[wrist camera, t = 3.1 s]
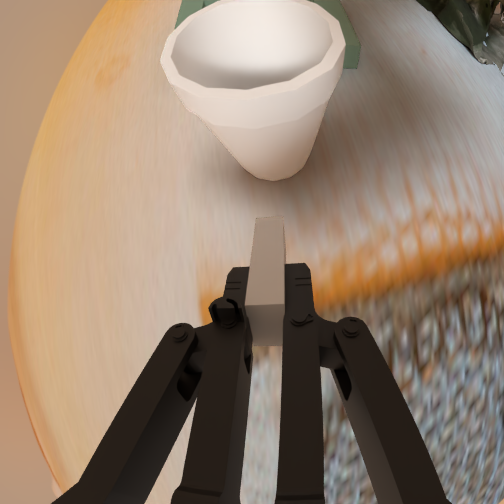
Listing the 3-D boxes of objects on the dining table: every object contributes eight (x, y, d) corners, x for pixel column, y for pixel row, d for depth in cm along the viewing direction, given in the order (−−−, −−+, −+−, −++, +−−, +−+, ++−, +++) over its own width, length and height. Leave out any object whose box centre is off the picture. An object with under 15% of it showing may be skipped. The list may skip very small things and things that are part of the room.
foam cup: (263, 221, 23) (223, 138, 11) (201, 146, 25) (135, 49, 12) (350, 154, 23) (382, 43, 10) (281, 91, 25) (264, -19, 12)
